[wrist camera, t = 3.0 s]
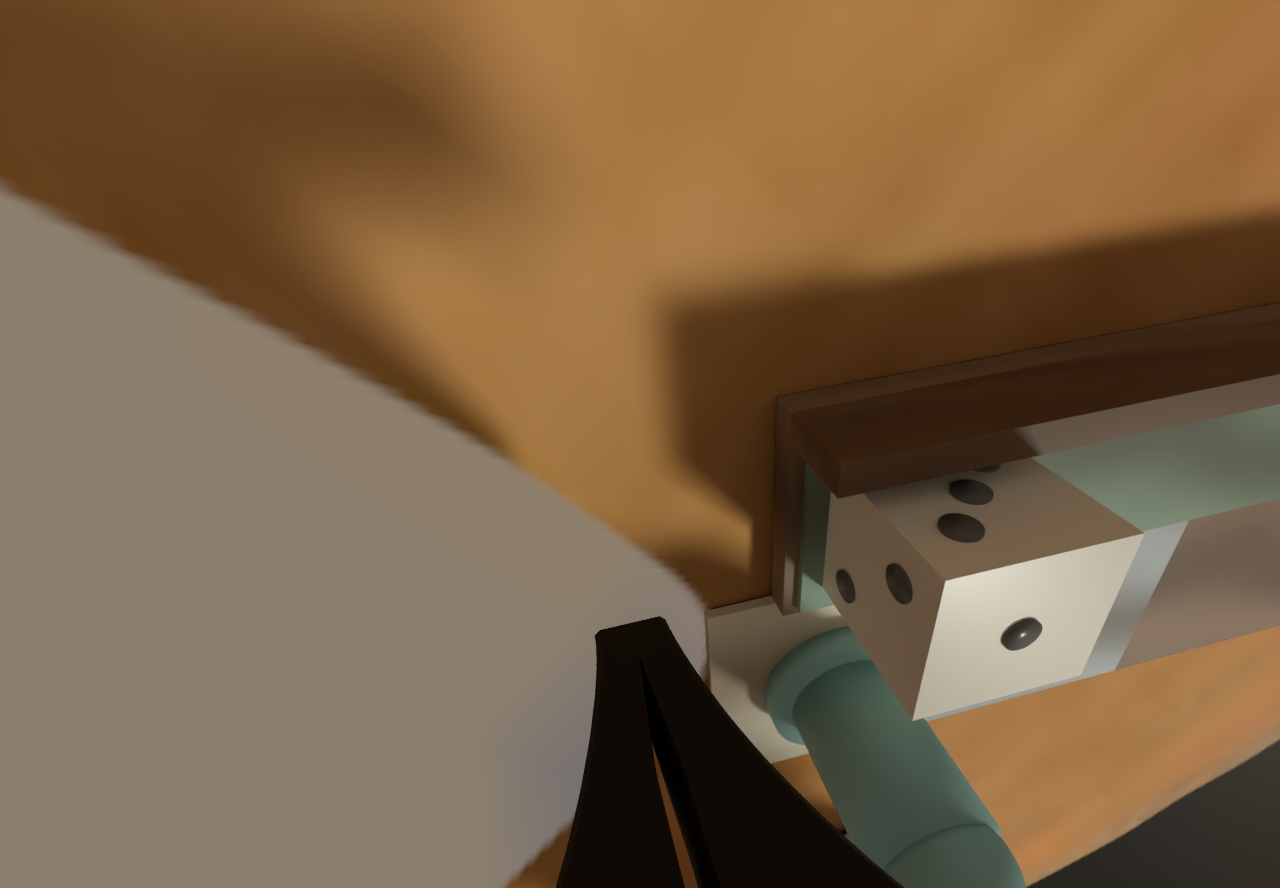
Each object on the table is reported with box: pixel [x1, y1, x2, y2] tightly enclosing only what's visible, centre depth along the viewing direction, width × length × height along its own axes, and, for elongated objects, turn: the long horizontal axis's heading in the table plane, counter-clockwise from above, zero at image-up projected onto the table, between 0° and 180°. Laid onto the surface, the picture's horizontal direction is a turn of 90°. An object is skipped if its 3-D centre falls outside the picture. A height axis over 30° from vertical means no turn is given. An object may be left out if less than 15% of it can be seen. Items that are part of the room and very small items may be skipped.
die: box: [822, 458, 1145, 721], centre depth 13 cm, size 4×4×4 cm
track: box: [705, 499, 1280, 763], centre depth 20 cm, size 8×24×1 cm, turn 96°
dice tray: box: [771, 303, 1280, 616], centre depth 15 cm, size 6×24×3 cm, turn 96°
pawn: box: [764, 626, 1026, 888], centre depth 16 cm, size 5×5×7 cm
